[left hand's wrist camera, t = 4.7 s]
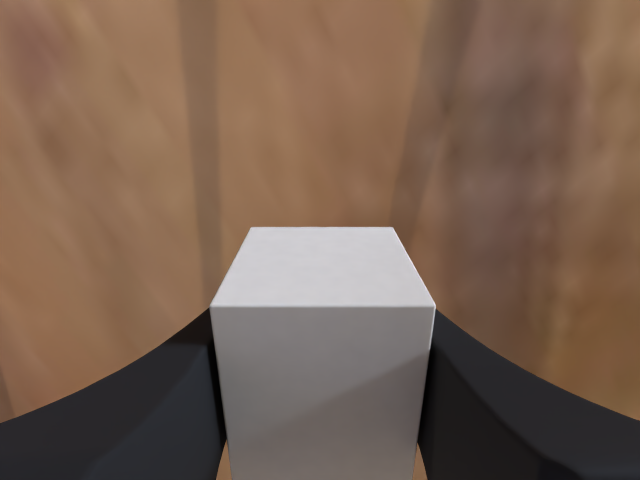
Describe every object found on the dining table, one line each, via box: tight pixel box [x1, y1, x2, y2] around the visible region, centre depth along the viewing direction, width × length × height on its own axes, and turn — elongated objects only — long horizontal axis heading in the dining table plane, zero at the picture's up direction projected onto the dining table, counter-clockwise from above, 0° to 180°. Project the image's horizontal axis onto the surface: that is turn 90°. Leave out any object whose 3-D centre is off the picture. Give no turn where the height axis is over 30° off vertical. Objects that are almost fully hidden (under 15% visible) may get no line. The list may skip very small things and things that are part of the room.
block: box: [209, 227, 436, 480], centre depth 10 cm, size 4×5×5 cm
